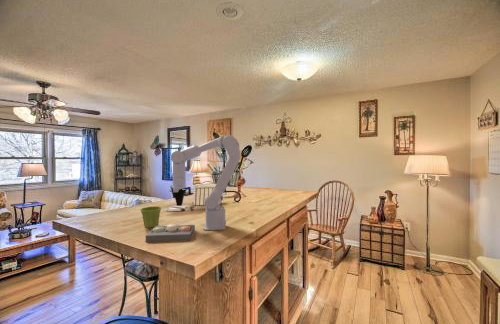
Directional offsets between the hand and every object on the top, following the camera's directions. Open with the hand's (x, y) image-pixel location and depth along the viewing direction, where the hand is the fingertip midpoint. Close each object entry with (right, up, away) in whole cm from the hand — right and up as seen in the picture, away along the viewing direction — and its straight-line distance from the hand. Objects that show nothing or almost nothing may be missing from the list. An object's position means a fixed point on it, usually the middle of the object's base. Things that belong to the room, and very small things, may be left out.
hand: (179, 205), depth 107 cm
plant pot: (-14, -11, +2) cm, 18 cm away
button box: (+1, -11, -12) cm, 16 cm away
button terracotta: (+6, -10, -11) cm, 16 cm away
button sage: (-5, -10, -12) cm, 17 cm away
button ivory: (+1, -9, -12) cm, 15 cm away
